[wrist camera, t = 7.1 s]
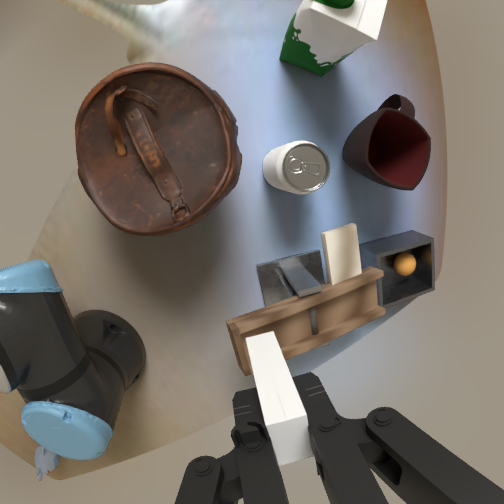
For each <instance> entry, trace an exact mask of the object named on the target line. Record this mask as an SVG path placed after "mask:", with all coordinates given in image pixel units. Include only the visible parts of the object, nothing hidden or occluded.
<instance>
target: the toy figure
mask: <svg viewBox="0 0 504 504" xmlns="http://www.w3.org/2000/svg"><path fill="white" fill-rule="evenodd" d="M58 464H59V455H58V454H55V453H53V452H51V451H49V450H47V449H46V448H44V447H42V446H41V445H40V446H38V447H37V449H36V451H35V467H36V469H37V476H38V475H39V474H40V476H39V481H41V479H42V476H43V474H47V473H49V472H51V471H52V470H53V469H55V468H56V467H57V466H58Z"/></svg>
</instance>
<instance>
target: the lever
mask: <svg viewBox="0 0 504 504" xmlns="http://www.w3.org/2000/svg"><path fill="white" fill-rule="evenodd" d="M321 238H322V244H323V250H324V257H325V264H326V270H327V277H328V284H325V285H323V286H321V287H322V291H320V292H317V293H313V294H310V295H306V296H302V297H299V296H298V295H296V296H294V297H291V298H288V299H286V300H283V301H280V302H278V303H275V304H272V305H269V306H267V307H264V308H261V309H258V310H255V311H253V312H250V313H247V314H244V315H241V316H238V317H235V318H233V319H230V320H227V321H226V324H227V328H228V331H229V334H230V338H231V341H232V345H233V348H234V351H235V355H236V358H237V362H238V365H239V367H240V368H241V370H242V372H243V373H244V375H245V376H247V375H250V374H253V369H252V365H251V360H250V356H249V351H248V347H247V342H246V338H247V337H252V336H256V335H260V334H264V333H267V332H271V331H274V334H275V336H276V339H277V341H278V344H279V347H280V349H281V352H282V354H283V357H284V359H285V360H288V359H290V358H292V357H295V356H297V355H299V354H302V353H304V352H306V351H309V350H311V349H313V348H315V347H318V346H320V345H322V344H324V343H327V342H329V341H331V340H333V339H335V338H337V337H340V336H342V335H344V334H346V333H348V332H350V331H352V330H354V329H356V328H358V327H360V326H362V325H364V324H366V323H368V322H370V321H372V320H374V319H376V318H378V317H380V316H382V315H384V314H386V311H385V308H383V307H381V306H379V305H378V301H377V285H376V279H378V278H381V277H383V276H384V273H383V270H380V269H377V268H374V267H372V266H370V267H368V268H365V269H363V270H361V261H360V252H359V243H358V235H357V228H356V224H353V223H351V224H348V225H344V226H341V227H338V228H335V229H332V230H328V231H325V232H322V233H321Z"/></svg>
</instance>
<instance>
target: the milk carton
mask: <svg viewBox="0 0 504 504" xmlns="http://www.w3.org/2000/svg"><path fill="white" fill-rule="evenodd" d="M386 3H387V0H303V2H302V4H301V5H300V7H299V8H298V10H297V12H296V13H295V15H294V17H293V18H292V20H291V22H290V25H289V27H288V30H287V33H286V35H285V39H284V43H283V47H282V51H281V55H280V58H279V59H280V60H283V61H286V62H288V63H291V64H293V65H296V66H298V67H301V68H303V69H306V70H308V71H310V72H313V73H315V74H317V75H320V76H323V75H324V74H325V73H327V72H328V71H329V70H330V69H332V68H333V67H334V66H335V65H337V64H338V63H339V62H341V61H342V60H343V59H344V58H346V57H347V56H349V55H350V54H351V53H353V52H354V51H355V50H357V49H358V48H360V47H361V46H362V45H364V44H365V43H368V42H372V41H376V40H377V38H378V34H379V31H380V27H381V23H382V19H383V15H384V11H385V7H386Z"/></svg>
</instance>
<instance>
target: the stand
mask: <svg viewBox="0 0 504 504" xmlns="http://www.w3.org/2000/svg"><path fill="white" fill-rule="evenodd" d="M257 269H258V274H259V278H260V283H261V287H262V292H263V296H264V301H265V305H266V307H267V306H269V305H272V304H275V303H278V302H280V301H283V300H286V299H288V298H291V297H294V296H296V295H298V296H299V297H302V296H306V295H310V294H313V293H317V292H320V291H322V287H321V286H323V285H325V282H324V275H323V269H322V262H321V255H320V250H314V251H310V252H306V253H302V254H298V255H294V256H290V257H286V258H282V259H278V260H274V261H270V262H266V263H262V264H258V265H257ZM326 345H329V342H327V343H324V344H322V345H320V346H318V347H315V348H313V349H316V348H319V347H322V346H326ZM311 350H312V349H311Z"/></svg>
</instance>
